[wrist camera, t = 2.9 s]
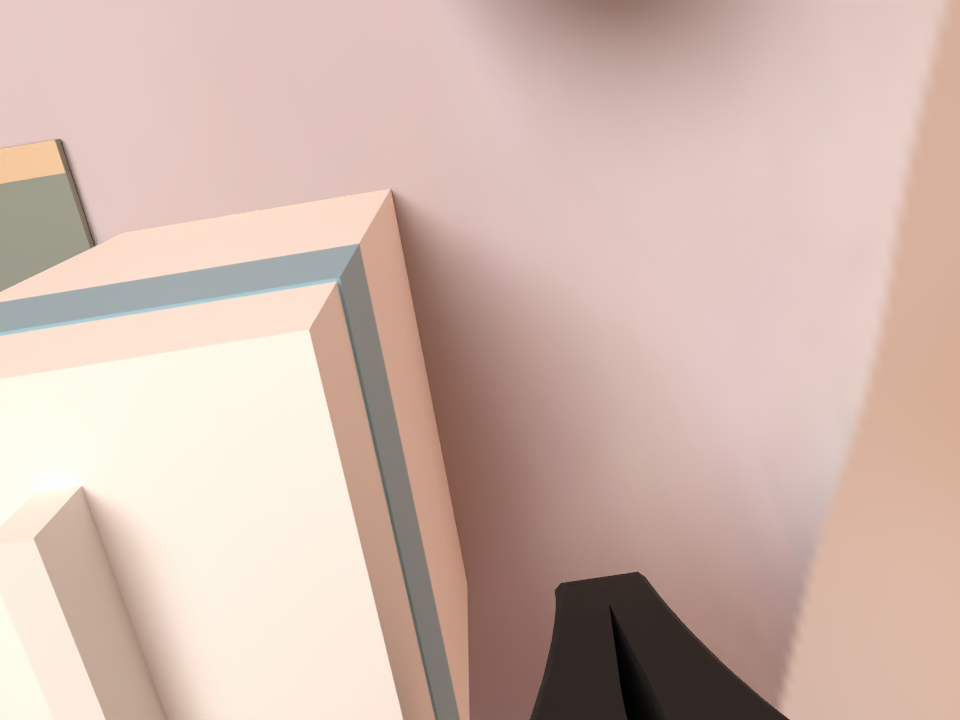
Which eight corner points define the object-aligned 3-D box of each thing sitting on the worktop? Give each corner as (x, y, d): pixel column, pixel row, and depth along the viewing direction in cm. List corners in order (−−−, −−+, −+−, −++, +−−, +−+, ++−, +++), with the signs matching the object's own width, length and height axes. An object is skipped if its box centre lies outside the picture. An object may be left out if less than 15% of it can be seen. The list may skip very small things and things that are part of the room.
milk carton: (469, 583, 25) (479, 1102, 12) (241, 617, 25) (24, 1161, 12) (392, 186, 21) (291, 360, 8) (120, 230, 21) (-376, 466, 8)
